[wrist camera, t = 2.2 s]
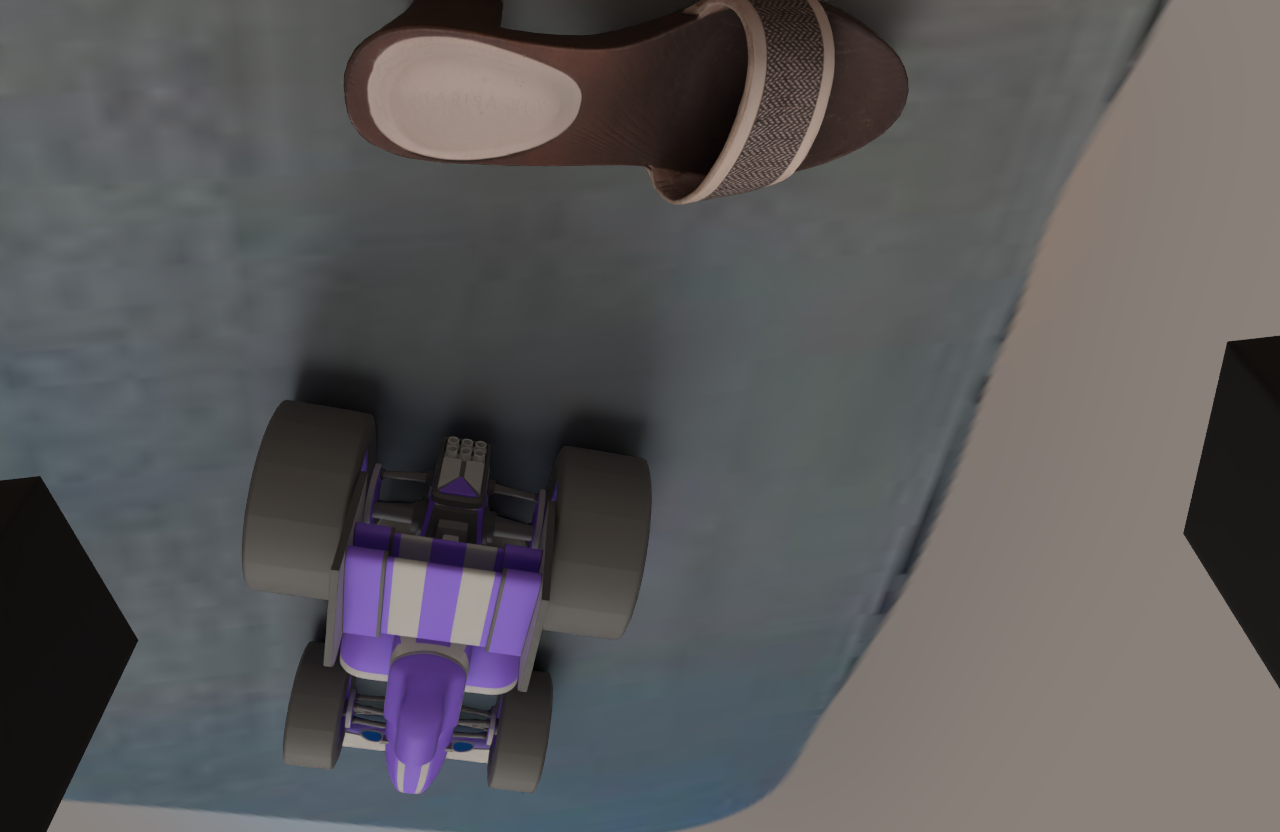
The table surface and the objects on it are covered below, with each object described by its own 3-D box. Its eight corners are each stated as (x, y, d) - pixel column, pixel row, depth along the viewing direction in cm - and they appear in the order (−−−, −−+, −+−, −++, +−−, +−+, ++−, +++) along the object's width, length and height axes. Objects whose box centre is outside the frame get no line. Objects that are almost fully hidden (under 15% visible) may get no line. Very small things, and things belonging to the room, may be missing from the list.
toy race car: (276, 722, 36) (219, 908, 31) (290, 361, 28) (214, 535, 22) (555, 756, 38) (545, 940, 32) (652, 422, 29) (660, 600, 24)
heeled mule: (857, 191, 25) (891, 272, 22) (380, 131, 24) (345, 208, 21) (913, -5, 22) (960, 55, 19) (379, -82, 21) (339, -31, 18)
